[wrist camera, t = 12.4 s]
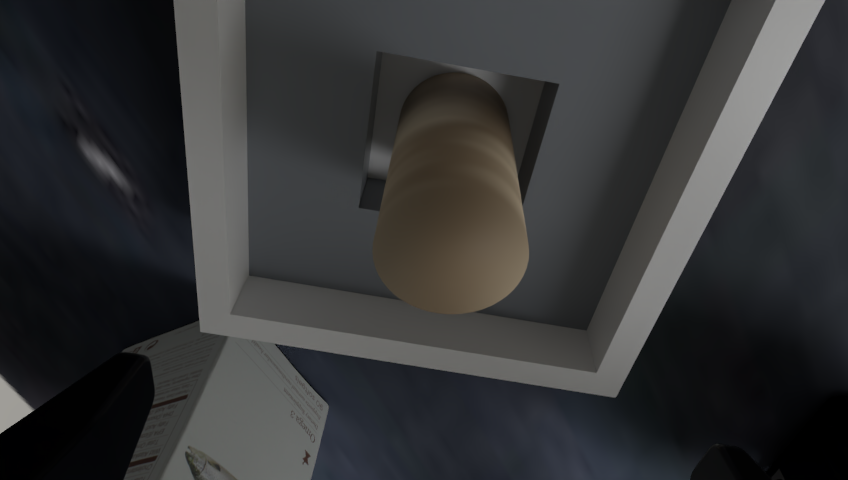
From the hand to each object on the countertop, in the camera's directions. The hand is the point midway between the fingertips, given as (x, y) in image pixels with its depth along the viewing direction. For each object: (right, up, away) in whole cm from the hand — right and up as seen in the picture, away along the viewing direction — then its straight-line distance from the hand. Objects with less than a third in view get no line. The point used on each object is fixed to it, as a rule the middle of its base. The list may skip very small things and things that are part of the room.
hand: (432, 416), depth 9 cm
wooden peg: (+1, +6, +10) cm, 12 cm away
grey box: (+1, +7, +10) cm, 13 cm away
